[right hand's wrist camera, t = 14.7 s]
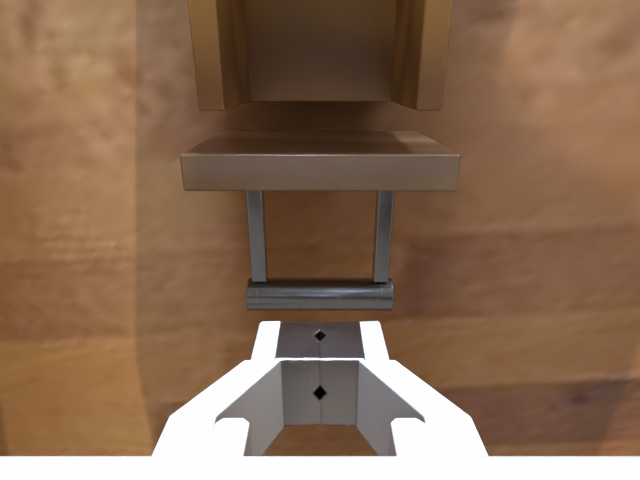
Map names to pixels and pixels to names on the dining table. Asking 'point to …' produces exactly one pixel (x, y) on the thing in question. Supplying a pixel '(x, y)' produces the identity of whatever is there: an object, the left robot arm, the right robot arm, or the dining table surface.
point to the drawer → (320, 146)
